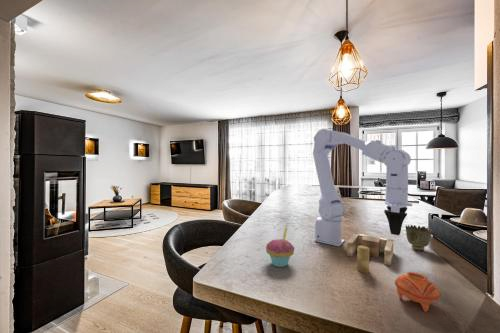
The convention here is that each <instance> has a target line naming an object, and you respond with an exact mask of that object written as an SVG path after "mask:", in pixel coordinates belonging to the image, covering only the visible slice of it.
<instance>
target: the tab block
mask: <svg viewBox="0 0 500 333" xmlns="http://www.w3.org/2000/svg"><path fill="white" fill-rule="evenodd" d="M363 235H364V236H363V238H362V246H358V247H357V250H356V251H357V252H356V253H357V254H356V255H357V258H356V260H357V261H356V262H357V263H356V264H357V265H356V270H357V271H358V272H360V273H363V274H368V273H370V258H371V257H373V256H374V257H373V258H377V257H380V255H381V252H380V238H381V237H380V238H376V237H377V236H374V237H370V236H371V235H369V236H365V235H366V234H363ZM379 254H380V255H379Z"/></svg>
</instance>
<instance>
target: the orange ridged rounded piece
mask: <svg viewBox="0 0 500 333" xmlns="http://www.w3.org/2000/svg"><path fill="white" fill-rule="evenodd" d="M394 285H395V286H396V292H397V295H398V298H399V299H402V298H403V296H404V297H405V298H407V299H408V300H410V301H412V302H415V303H417V304H418V303H419V304H420V305H421V307H422V310H423V312H424V313H427V312H428V311H429V308H430V305H431V303H434V302H436V301H438V300H440V298H441V297H442V296H441V295H442V293H441V290H440V289H439V288H438V287H437V286H436V285H435V284H434V283H433V282H432V281H430V280H429V279H428V277H427V276H426V275H424V274H421V273H418V272H412V271H408V272H406V273H404V274H401V275H399V276H398V277H397V278H396V279H395V281H394Z"/></svg>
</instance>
